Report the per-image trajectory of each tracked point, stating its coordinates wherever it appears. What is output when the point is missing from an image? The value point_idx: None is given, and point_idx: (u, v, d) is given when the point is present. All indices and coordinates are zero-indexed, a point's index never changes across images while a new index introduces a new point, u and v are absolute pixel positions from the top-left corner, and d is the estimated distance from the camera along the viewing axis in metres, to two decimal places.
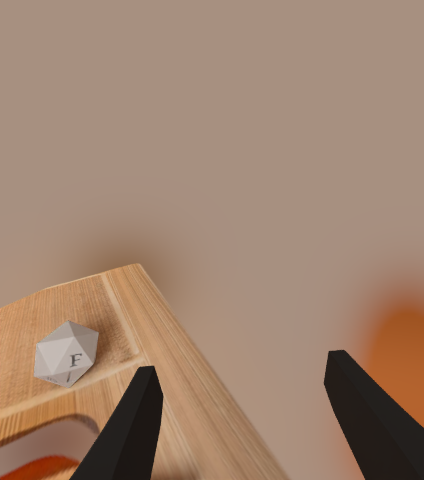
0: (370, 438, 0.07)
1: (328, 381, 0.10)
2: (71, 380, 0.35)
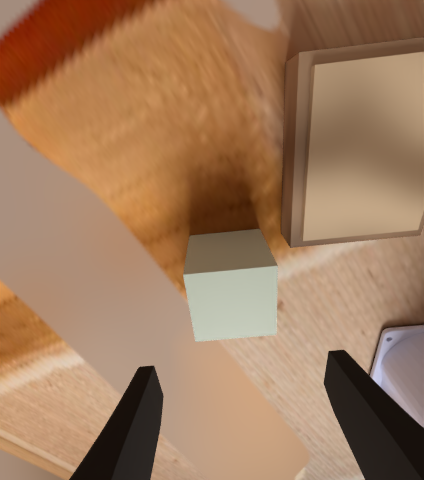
0: (370, 438, 0.07)
1: (328, 381, 0.10)
2: None
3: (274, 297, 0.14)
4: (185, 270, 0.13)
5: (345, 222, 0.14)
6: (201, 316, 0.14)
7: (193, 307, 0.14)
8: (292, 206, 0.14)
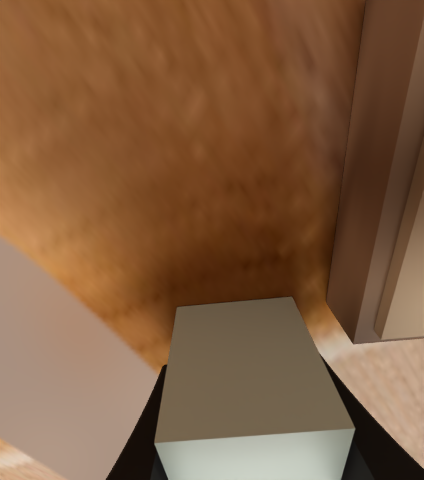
0: None
1: None
2: None
3: (338, 469, 0.07)
4: (159, 425, 0.06)
5: None
6: None
7: None
8: (366, 281, 0.07)
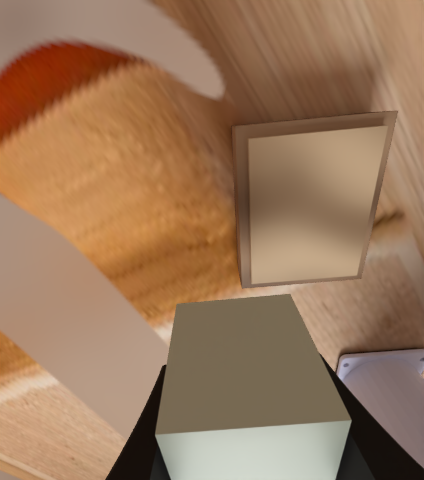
0: None
1: None
2: None
3: (335, 461, 0.07)
4: (160, 417, 0.07)
5: (289, 268, 0.15)
6: None
7: (178, 475, 0.07)
8: (240, 253, 0.15)
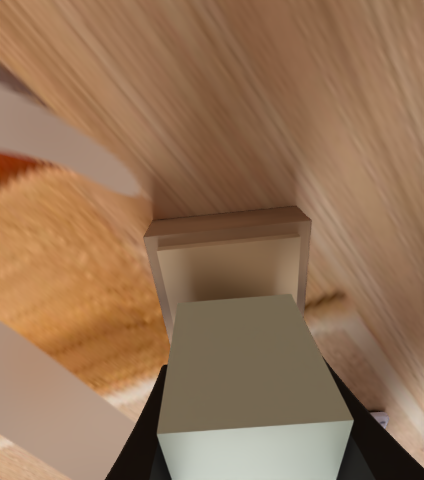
0: None
1: None
2: None
3: (336, 461, 0.07)
4: (161, 416, 0.07)
5: None
6: None
7: (178, 475, 0.07)
8: (170, 344, 0.15)
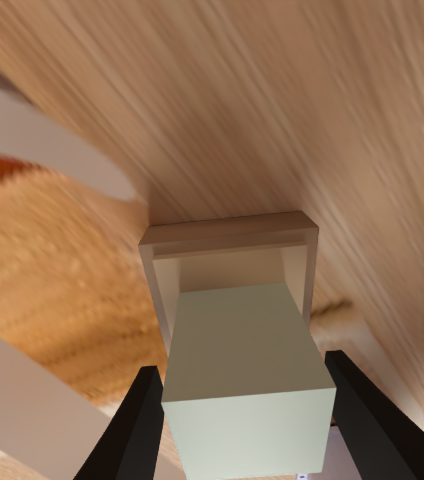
0: (367, 438, 0.07)
1: None
2: None
3: (324, 429, 0.08)
4: (165, 388, 0.07)
5: None
6: (197, 453, 0.08)
7: (182, 443, 0.08)
8: (168, 357, 0.14)
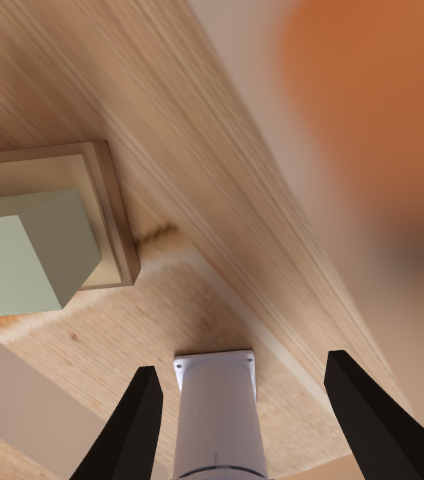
0: (370, 438, 0.07)
1: (328, 381, 0.10)
2: None
3: (35, 259, 0.11)
4: None
5: None
6: None
7: None
8: None
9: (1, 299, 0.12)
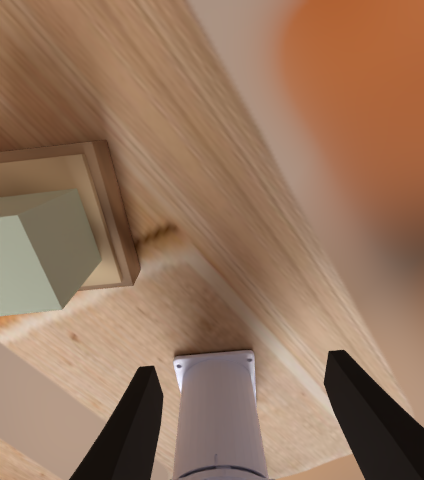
0: (370, 438, 0.07)
1: (328, 381, 0.10)
2: None
3: (35, 259, 0.11)
4: None
5: None
6: None
7: None
8: None
9: (1, 299, 0.12)
